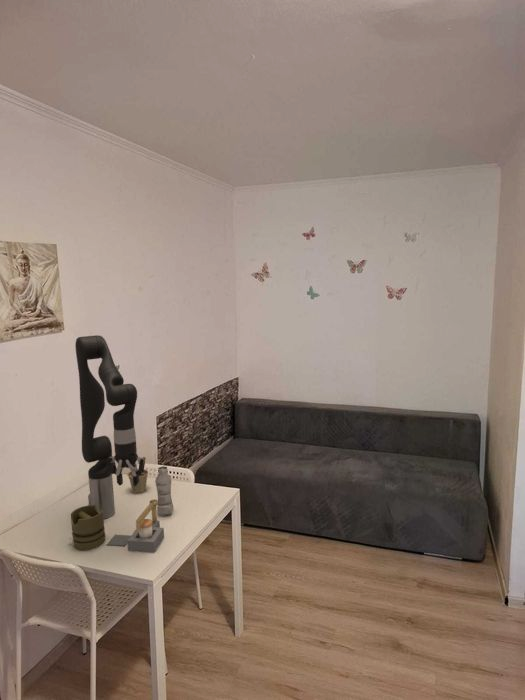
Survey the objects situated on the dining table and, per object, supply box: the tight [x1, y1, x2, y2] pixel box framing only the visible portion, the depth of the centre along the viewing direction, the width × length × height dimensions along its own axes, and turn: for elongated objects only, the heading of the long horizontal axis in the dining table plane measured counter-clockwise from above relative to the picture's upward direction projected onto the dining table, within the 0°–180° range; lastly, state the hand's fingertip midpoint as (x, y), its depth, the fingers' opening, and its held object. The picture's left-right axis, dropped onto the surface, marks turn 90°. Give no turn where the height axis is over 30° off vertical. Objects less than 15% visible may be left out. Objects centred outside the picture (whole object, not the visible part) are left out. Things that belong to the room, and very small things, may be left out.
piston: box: [70, 504, 106, 552], centre depth 180 cm, size 11×12×11 cm
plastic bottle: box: [154, 465, 174, 516], centre depth 200 cm, size 6×7×20 cm
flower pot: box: [127, 469, 149, 494], centre depth 223 cm, size 9×9×9 cm
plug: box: [139, 518, 153, 539], centre depth 178 cm, size 5×5×9 cm
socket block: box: [126, 506, 165, 553], centre depth 180 cm, size 10×15×11 cm, turn 171°
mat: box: [106, 534, 132, 547], centre depth 181 cm, size 7×7×1 cm
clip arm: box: [135, 499, 158, 532], centre depth 179 cm, size 3×16×4 cm, turn 171°
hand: (128, 484), depth 175 cm, fingers open, 5 cm apart
